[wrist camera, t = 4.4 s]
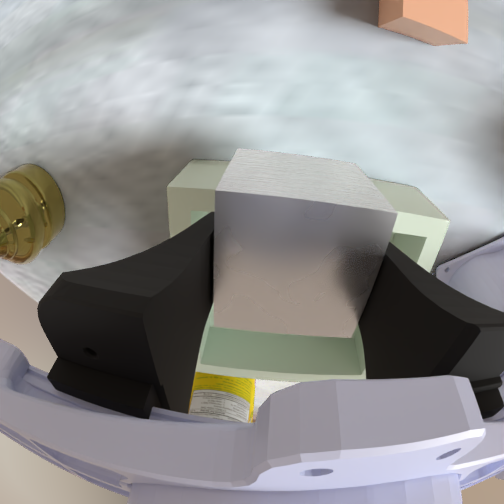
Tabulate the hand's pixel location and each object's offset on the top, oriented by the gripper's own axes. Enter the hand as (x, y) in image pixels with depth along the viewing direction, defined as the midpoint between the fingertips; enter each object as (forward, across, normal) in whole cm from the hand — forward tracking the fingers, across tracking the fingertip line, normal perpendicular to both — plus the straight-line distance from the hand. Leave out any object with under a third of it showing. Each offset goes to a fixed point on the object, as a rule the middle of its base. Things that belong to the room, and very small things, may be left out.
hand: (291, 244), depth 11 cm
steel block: (+2, 0, 0) cm, 2 cm away
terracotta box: (+8, -6, -13) cm, 16 cm away
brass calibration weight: (+8, +21, +3) cm, 23 cm away
